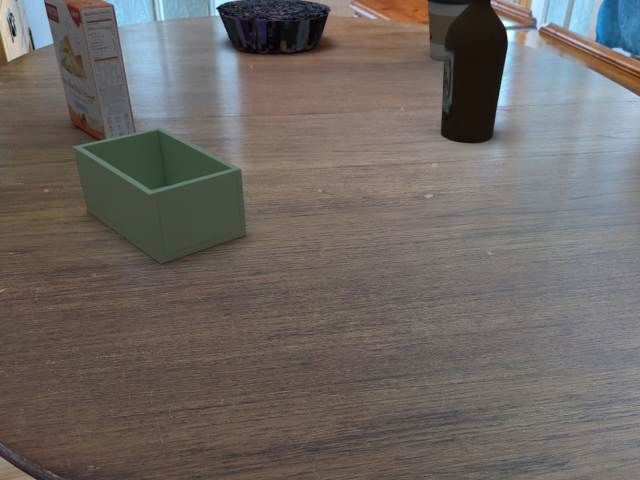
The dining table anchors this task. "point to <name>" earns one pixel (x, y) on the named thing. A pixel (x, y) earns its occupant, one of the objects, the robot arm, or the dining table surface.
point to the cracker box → (91, 66)
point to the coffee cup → (442, 22)
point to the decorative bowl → (274, 24)
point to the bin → (162, 192)
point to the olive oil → (473, 73)
